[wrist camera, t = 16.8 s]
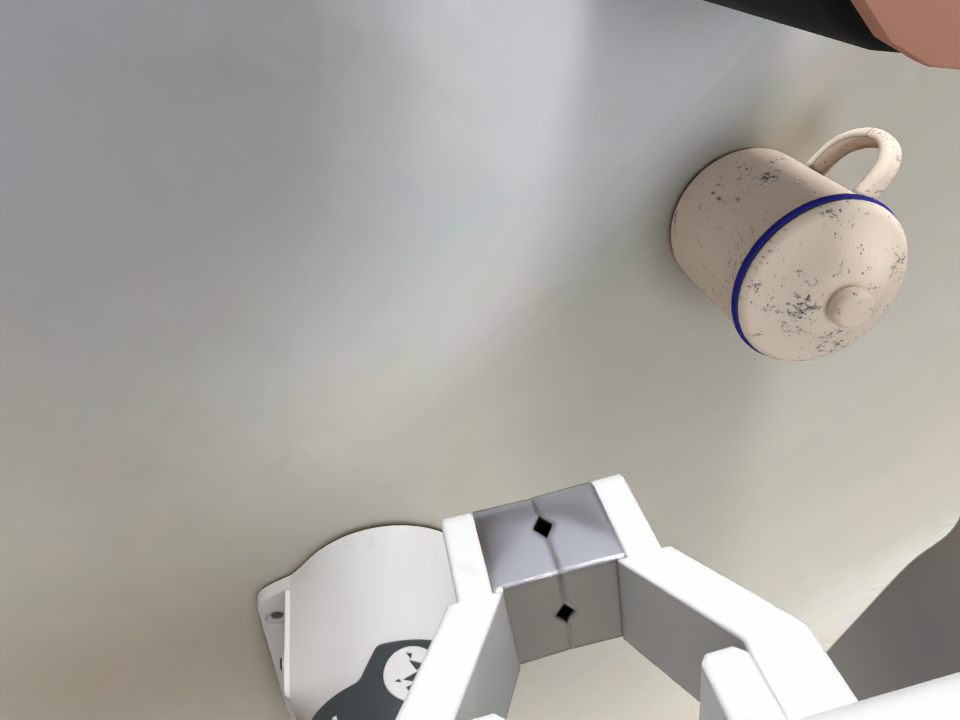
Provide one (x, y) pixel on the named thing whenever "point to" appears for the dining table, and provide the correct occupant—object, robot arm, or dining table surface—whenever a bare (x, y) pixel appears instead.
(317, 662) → the robot arm
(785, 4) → the coffee jar
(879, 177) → the teacup with lid
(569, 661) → the dining table surface
